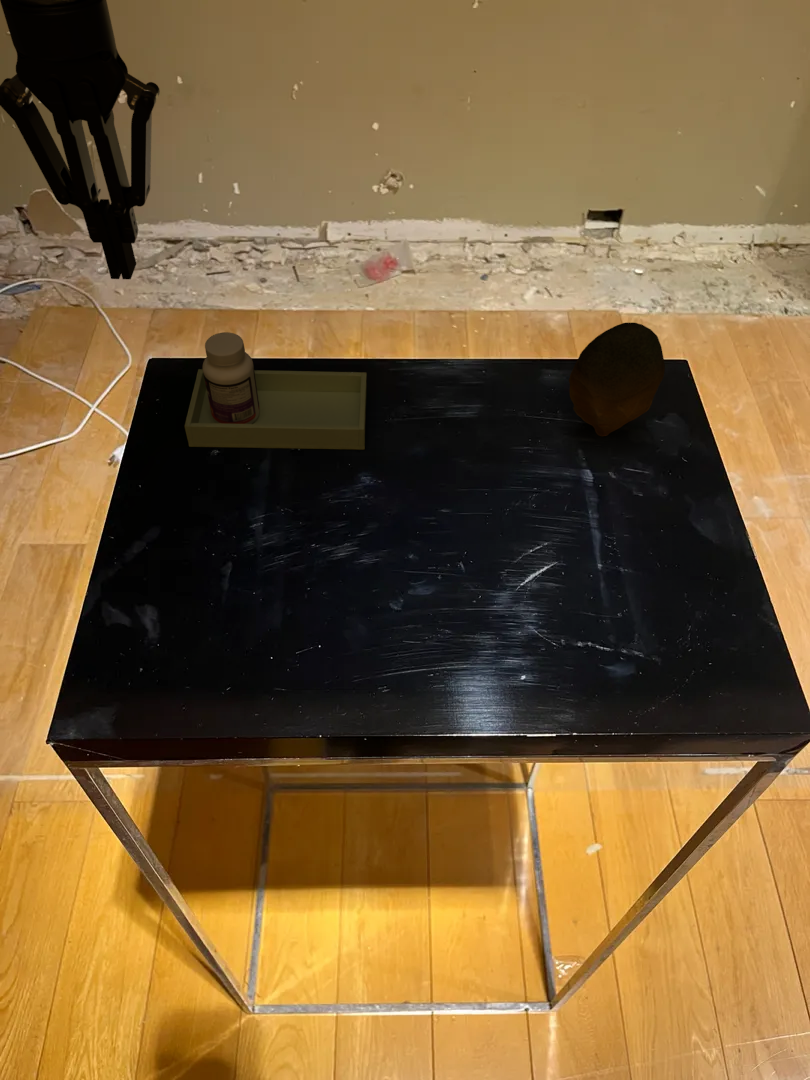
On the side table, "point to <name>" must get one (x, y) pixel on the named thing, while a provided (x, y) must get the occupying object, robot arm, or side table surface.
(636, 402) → the decorative stone
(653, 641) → the side table surface
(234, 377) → the pill bottle
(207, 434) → the tray
